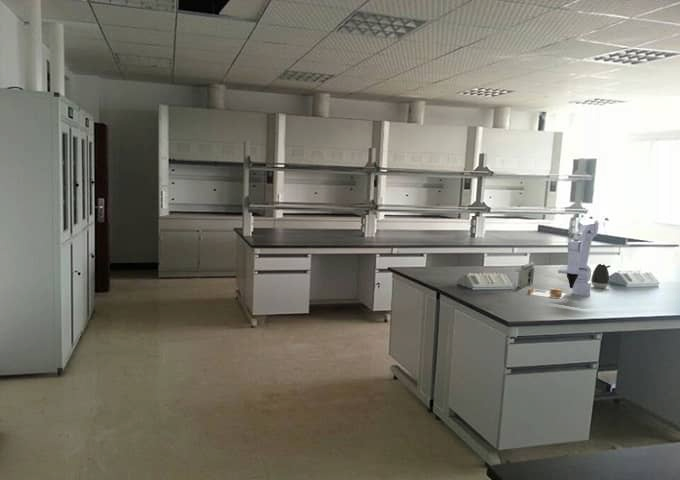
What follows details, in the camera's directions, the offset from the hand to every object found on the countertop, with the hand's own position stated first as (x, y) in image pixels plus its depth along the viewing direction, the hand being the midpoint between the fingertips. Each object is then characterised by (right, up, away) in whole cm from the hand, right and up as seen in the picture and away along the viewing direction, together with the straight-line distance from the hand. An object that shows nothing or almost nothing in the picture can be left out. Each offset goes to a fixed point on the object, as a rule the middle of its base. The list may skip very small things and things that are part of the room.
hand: (571, 287), depth 287 cm
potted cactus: (+36, -4, +43) cm, 56 cm away
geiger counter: (-10, -2, +42) cm, 43 cm away
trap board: (-9, -6, +11) cm, 15 cm away
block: (-7, -5, +5) cm, 9 cm away
